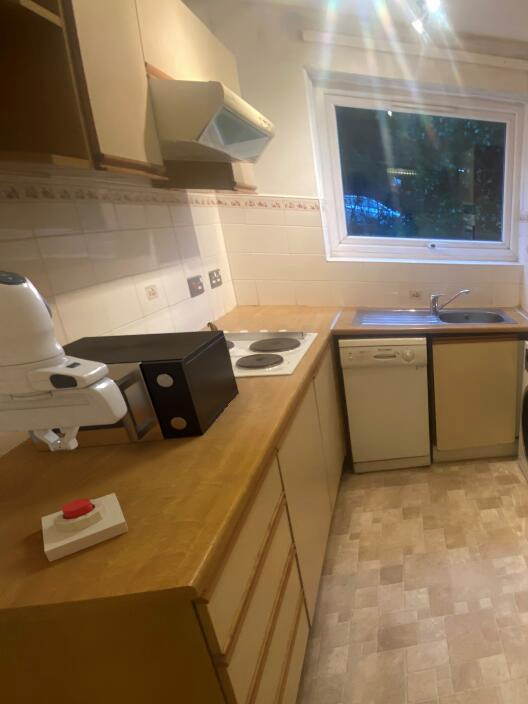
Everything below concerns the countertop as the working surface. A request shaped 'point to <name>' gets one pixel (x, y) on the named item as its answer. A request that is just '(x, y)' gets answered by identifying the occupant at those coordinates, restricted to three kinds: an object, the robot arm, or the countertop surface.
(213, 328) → the vegetable
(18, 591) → the countertop surface
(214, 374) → the microwave
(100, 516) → the button block
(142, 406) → the microwave door
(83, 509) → the button
